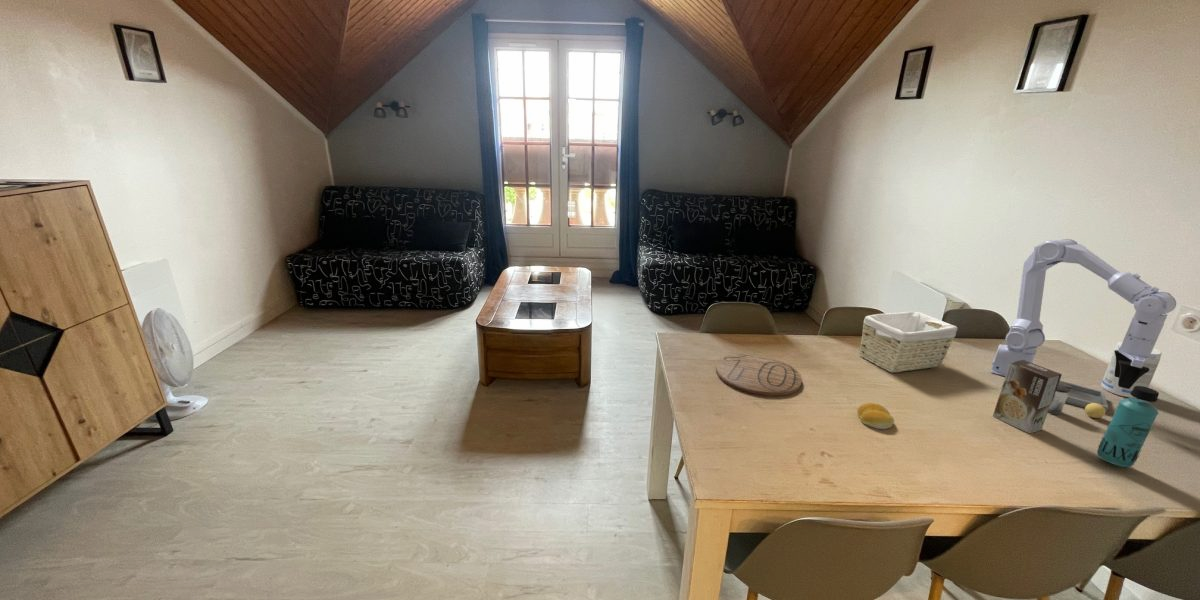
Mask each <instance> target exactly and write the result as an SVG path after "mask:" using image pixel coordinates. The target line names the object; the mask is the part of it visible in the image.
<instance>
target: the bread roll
mask: <svg viewBox="0 0 1200 600" xmlns="http://www.w3.org/2000/svg"><path fill="white" fill-rule="evenodd" d="M856 412H857V415H858V417H859V419H860V421H861V423H863V424H864V425H865V426H869V427H871V428H874V429H876V430H888V429H891V428H892V427H893V425H894V423H895V420H894V419H895V418H894V417H893V416H892V415H891V414H890V412H889V410H888V409H887V408H886V407H885V406H883V405H881V404H878V403H876V402H867V403H863V404H861V405H859V406H858V408H857V410H856Z"/></svg>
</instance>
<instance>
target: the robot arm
mask: <svg viewBox="0 0 1200 600" xmlns="http://www.w3.org/2000/svg"><path fill="white" fill-rule="evenodd" d="M1060 263H1067V264H1068V263H1069V264H1078V265H1080V266H1081V267H1083V268H1085V269H1087V270H1088V271H1090V272H1092V273H1093V274H1095V275H1096V276H1098V277H1100V279H1104V280H1105V281H1106V282H1107V287H1108V289H1109V290H1111V291H1112V292H1114V293H1115V294H1117V295H1118V296H1119V297H1120V298H1123V299H1124V300H1126V301H1127V302H1128V303H1130V304H1132V305H1133V308H1134V310H1135V313H1134V315H1133V317H1132V319H1131V321H1130V324H1129V325H1128V329H1127V330H1126V333H1125V335H1124V337H1123V340H1122V341H1121V342H1122V345H1121V347H1120V348H1119V349H1118V350H1115V351H1114V350H1113V352H1115V356H1116V366H1115V377H1118V378H1119V381H1118V386H1119V387H1122V388H1127V389H1130V388H1131V387H1132V385H1133V384H1134V383H1135V382H1136V381H1137V380H1138V379H1139V378H1140V377H1141V376H1142V375H1144V374H1145V373H1147V372H1148V371H1149V370H1150V369H1149V368H1147V367H1143V364H1144V362H1145V361H1147V360H1148V359H1156V356H1155V355H1153V354H1151V352H1152V350H1153V348H1155V345H1156V343H1157V341H1158V339H1159V337H1160V335H1161V332H1162V330H1163V327H1164V326H1165V322H1166V319H1167V317H1168V314H1169V313H1170V312H1171V313H1172V311H1174V310H1175V309H1176V306H1177V301H1176V298H1175V297H1174V296H1173V295H1172V294H1171V293H1169V292H1167V291H1159V290H1160V288H1159V287H1157V286H1154V287H1153V286H1152V285H1150V284H1148V283H1147V282H1146V281H1144V280H1142V279H1141V277H1142V276H1141V275H1139V274H1138V273H1131V272H1129V271H1128V272H1126V271H1125V272H1120V271H1118V270H1117V269H1116V268H1115V267H1113V266H1112V265H1110V264H1109V263H1107V262H1106V261H1105V260H1103V259H1102V258H1101V257H1099V256H1098V255H1096V254H1095V253H1094V252H1093V251H1091V250H1089V249H1088V248H1087V247H1086V246H1085V245H1083V244H1081V243H1078V242H1077V241H1075V240H1074V239H1072V238H1064V239H1054V240H1052V239H1051V240H1046V241H1043V242H1041V243H1039V244H1037V245H1035V246H1034V249H1033V251H1032V252H1031V254H1030V255H1029V256H1028V257H1027V259H1026V260H1025V261H1024V262H1023V265H1022V266H1023V267H1022V276H1021V284H1020V290H1019V299H1018V307H1017V315H1016V319H1015V320H1014V322H1013V323H1011V325H1010V328H1009V332H1007V334H1006V336H1005V343H1006V344H998V347H997V349H996V353H995V356H994V359H992V361H991V370H990V372H991V373H992V374H995V375H998V376H999V375H1000V376H1003V377H1006V374H1007V371H1008V368H1009V364H1010V363H1014V362H1015V361H1020V360H1025V361H1028V362H1030V363H1033V362H1034V360H1035V357H1036V354H1037V348H1038V347H1040V346H1042V345H1043V344H1044V343H1045V341H1046V336H1045V333H1044V331H1043V328H1044V325H1043V323H1042V322H1041V321H1040V318H1041V311H1042V310H1041V309H1042V304H1043V297H1044V290H1045V280H1046V274H1047V273H1046V272H1047V270H1049V269H1050V268H1052V267H1055V265H1057V264H1060Z"/></svg>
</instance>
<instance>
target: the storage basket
mask: <svg viewBox="0 0 1200 600" xmlns="http://www.w3.org/2000/svg"><path fill="white" fill-rule="evenodd" d="M926 325H927V326H930V327H933V328H935V329H929V330H926V329H925V328H926ZM957 331H958V327H957V325H953V324H951V323H948V322H945V321H943V320H941V319H939V318H936V317H934V316H929V315H927V314H925V313H923V312H920V311H902V312H901V311H900V312H890V313H889V312H888V313H876V314H870V315H866V316H865V317H864V320H863V325H862V334H861V335H862V336H861V342H860V346H859V348H860V349H859V352H858V354H859V356H860V357H862V358H864V359H865V360H867V361H869V362H871V363H873V364H874V365H876V366H878V367H879V368H882V369H883V370H886V371H888V372H890V373H893V374H894V373H900V372H907V371H914V370H915V371H916V370H924V369H929V368H936V367H941V366H942V365H943V362H944V359H945V358H946V356H947V354H948V351H949V349H950V347H951V344H952V342H953V340H954V339H955V337H956V335H957Z"/></svg>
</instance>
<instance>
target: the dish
mask: <svg viewBox="0 0 1200 600" xmlns="http://www.w3.org/2000/svg"><path fill="white" fill-rule="evenodd" d="M1060 382H1063V383H1066V384H1068V385H1070V386H1071V387H1072V388H1071V391H1070V392H1069V394H1068V397H1067V399H1066V402H1065V404H1068V405H1069V404H1070V405H1072V406H1076V407H1080V408H1084V409H1085V407H1086V406H1087V405H1088V404H1091V403H1097V404H1100V405H1102V406H1103V407H1104V408H1105V415H1106V414H1107V412H1108V409H1109V405H1108V401H1107V397H1106V393H1105V391H1102V390H1098V389H1096V388H1095V389H1094V388H1090V387H1086V386H1083V385H1079V384H1074V383H1071V382H1067V381H1063V380H1060Z"/></svg>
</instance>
